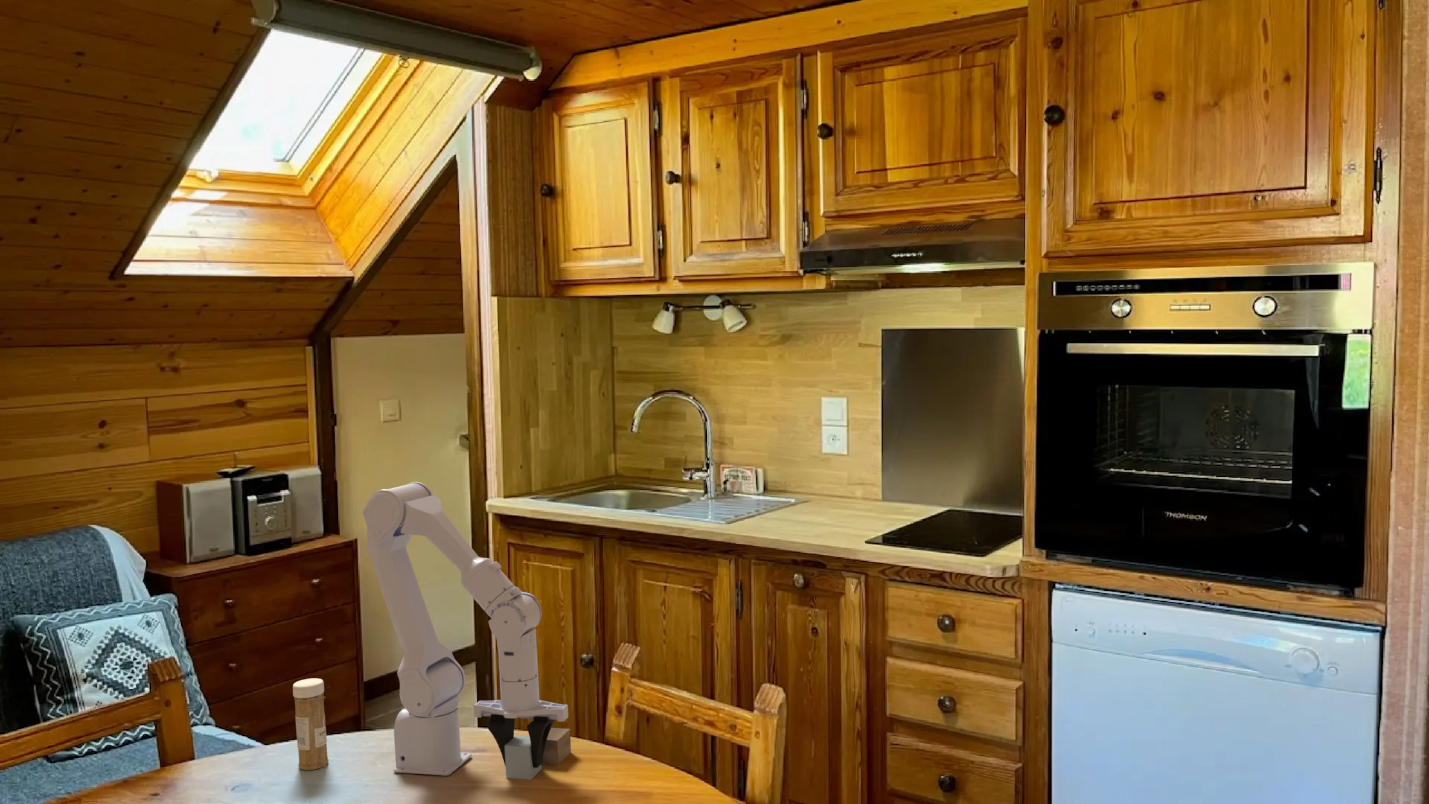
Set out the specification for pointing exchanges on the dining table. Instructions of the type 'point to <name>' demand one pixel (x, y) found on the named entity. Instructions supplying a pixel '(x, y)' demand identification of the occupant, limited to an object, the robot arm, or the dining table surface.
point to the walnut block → (557, 746)
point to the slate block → (520, 759)
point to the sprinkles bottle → (310, 723)
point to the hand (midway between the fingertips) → (523, 764)
